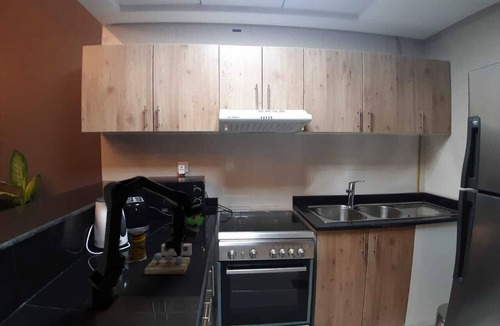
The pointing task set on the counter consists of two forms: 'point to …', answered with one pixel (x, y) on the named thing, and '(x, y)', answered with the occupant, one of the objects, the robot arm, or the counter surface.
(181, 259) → the button right
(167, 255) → the button mid
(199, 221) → the fruit basket
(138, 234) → the condiment
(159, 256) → the button left
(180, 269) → the board
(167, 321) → the counter surface
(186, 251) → the white flat bar
